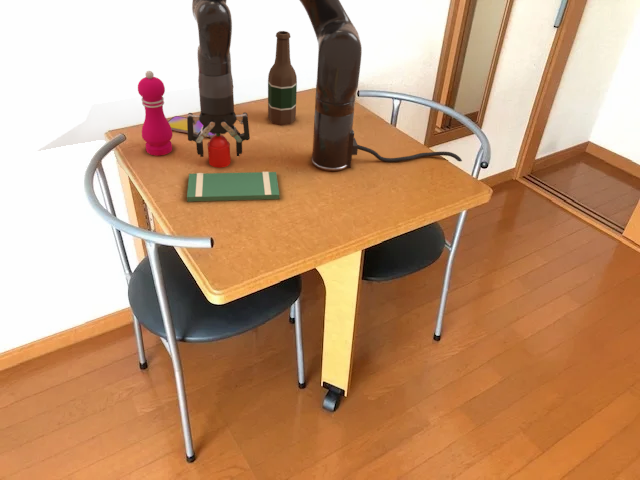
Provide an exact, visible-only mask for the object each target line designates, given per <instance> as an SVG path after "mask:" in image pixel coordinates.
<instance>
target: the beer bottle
mask: <svg viewBox="0 0 640 480" xmlns="http://www.w3.org/2000/svg"><path fill="white" fill-rule="evenodd" d="M275 37H276V46H275V57H274V58H275V59H274V63H273V65H272V66H271V67H270V69H269V72H268V75H267V118H268V119H269V121H270V122H271V123H272V124H275V125H278V126H287V125H292V123H293V122H295V121H296V115H297V93H298V90H297V89H298V79H297V78H298V77H297V73H296V70H295V69H294V67H293V65H292V62H291V49H290V48H291V47H290V38H291V33H290V32H289V31H286V30H279V31H277V32H276V34H275Z"/></svg>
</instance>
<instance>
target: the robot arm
mask: <svg viewBox="0 0 640 480" xmlns="http://www.w3.org/2000/svg"><path fill="white" fill-rule="evenodd" d="M299 2H300V3H301V5H302V7H303V8H304V10H305V11H306V14H307V16H308V18H309V22H310V23H311V26H312V29H313V32H314V34H315V38H316V41H317V46H318V47H317V48H318V54H317V70H316V71H317V72H316V84H315V99H314V100H315V101H314V119H313V135H312V153H311V163H312V166H314V167H315V168H316V169H319V170H321V171H326V172H339V171H343V170H345V169H350V168H351V167H352V158H353V156H358V150H359V151H363V152H366V153H368V154H371V155H372V156H374V157H375V158H376V159H378V161H381V162H385V163H397V162H405V161H411V160H415V159H420V158H424V157H425V158H426V157H438V156H439V157H441V156H443V157H444V156H445V157H451V158H453V159H455V160H456V161H457V162H463V160H462V158H461V157H460V156H459V155H458V154H456V153H454V152H451V151H431V152H419V153H416V154H412V155H407V156H399V157H384V156H382V155H380V154H379V153H378V152H377V151H376V150H373V149H371V148H369V147H366V146H363V145H360V144H358V142H357V140H356V137H355V131H354V129H353V128H354V119H355V118H354V117H355V107H356V98H357V97H356V96H357V92H358V88H359V81H360V71H361V65H362V64H361V63H362V54H363V53H362V51H363V50H362V41H361V39H360V35H359V32H358V30H357V29H356V27H355V26H354V23H353V22H352V21H351V18H350V17H349V15H348V13H347V11H346V10H345V8H344V7H343V5H342V2H341V1H340V0H299ZM191 11H192V16H193V18H194V20H195V22H196V24H197V30H198V43H199V45H198V46H197V68H198V77H197V78H198V81H197V82H198V94H199V106H200V108H199V109H200V113H199V114H193V113H192V112H188V113H187V117H186V118H187V129H188V133H187V140H188V141H189V142H194V143H195V144H196V145H195V146H196V153H197V155H198V156H199V157H200V158H203V157H204V155H205V154H204V153H205V152H204V141H203V140H204V139H205V138H207V137H206V136H207V135H208V133H209V132H210V133H212V134H217V133H220V135H225V134H226V133H228V134H229V135H230V137H232V138H233V139H234V140H235V151H236V152H235V153H236V154H235V155H236V157H240V155H242V154H243V142H244V141H250V138H251V137H250V126H249V125H250V124H249V116H248V113H247V112H246V111H245V112H243V113H242V114H236V112H235V98H234V79H233V74H232V73H233V72H232V59H231V44H232V34H233V19H232V13H231V10H230V8H229V6H228V4H227V0H192V3H191ZM197 121H200V122H201V123H202V125H203V127H202V128H201V130H200V131H199V133H198V134H194V133H193V125H195V124H196V123H197ZM237 121H238V122H239V124H240V125H242V126H243V132H242V133H241V132H240V131H239V130H238V129H237V127H236V126H235V124H236V122H237Z"/></svg>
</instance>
